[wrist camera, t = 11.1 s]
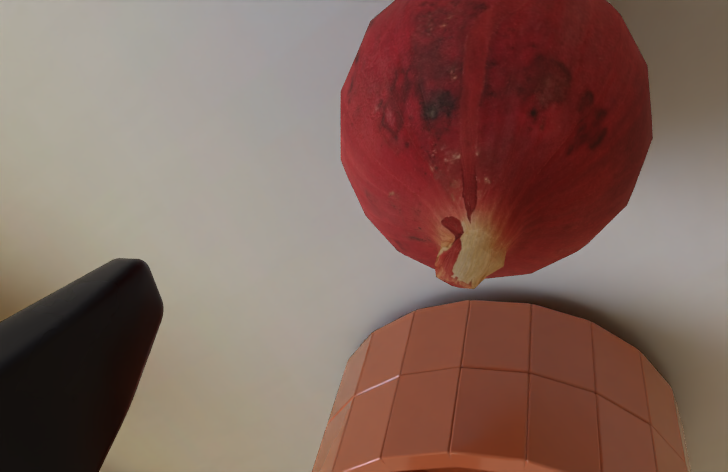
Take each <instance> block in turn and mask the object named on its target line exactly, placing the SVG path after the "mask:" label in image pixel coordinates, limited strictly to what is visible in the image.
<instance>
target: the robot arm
mask: <svg viewBox="0 0 728 472" xmlns="http://www.w3.org/2000/svg"><path fill="white" fill-rule="evenodd" d="M162 317H163V302H162V299H161V296H160V294H159V291H158V289H157V286H156V284H155V281H154V278H153V276H152V273H151V271H150V268H149V266H148V265H147V264H146V263H145V262H144V261H143V260H140V259H127V258H118V259H114V260H112V261H110V262H108V263H106V264H104V265H103V266H101V267H99V268H97V269H95V270H94V271H92V272H90V273H88V274H86V275H85V276H83V277H81V278H79V279H77V280H75V281H74V282H72V283H70V284H68V285H66V286H65V287H63V288H61V289H59V290H57V291H56V292H54V293H52V294H50V295H48V296H47V297H45V298H43V299H41V300H39V301H37V302H36V303H34V304H32V305H30V306H28V307H27V308H25V309H23V310H21V311H19V312H18V313H16V314H14V315H12V316H10V317H9V318H7V319H5V320H3V321H1V322H0V472H99V470H100V468H101V466H102V464H103V462H104V460H105V458H106V456H107V454H108V452H109V450H110V448H111V446H112V444H113V442H114V439H115V437H116V435H117V433H118V431H119V429H120V427H121V425H122V423H123V421H124V419H125V416H126V414H127V412H128V410H129V407H130V405H131V402H132V400H133V397H134V395H135V392H136V389H137V387H138V384H139V381H140V378H141V376H142V373H143V370H144V367H145V365H146V362H147V359H148V356H149V354H150V351H151V348H152V345H153V343H154V340H155V337H156V334H157V332H158V329H159V326H160V323H161V321H162Z"/></svg>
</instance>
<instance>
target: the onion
mask: <svg viewBox="0 0 728 472" xmlns="http://www.w3.org/2000/svg"><path fill="white" fill-rule="evenodd" d="M652 139H653V136H652V115H651V103H650V91H649V79H648V67H647V64H646V62H645V60H644V58H643V56H642V55H641V53H640V51H639V49H638V47H637V45H636V43H635V41H634V39H633V37H632V35H631V34H630V32H629V30H628V28H627V26H626V24H625V22H624V20H623V18H622V16H621V15H620V14H619V12H618V11H617V10H616V9H615V8H614V7H613V6H612V5H611V4H610V3H608V2H607V1H606V0H395V1H394V2H393V3H392V4H390V5H389V6H388V7H387V8H386V9H384V10H383V11H382V12H381V13H380V14H379V15H377V16H376V17H375V18H374V19H373V20H371V21H370V24H369V26H368V29H367V31H366V34H365V36H364V38H363V41H362V43H361V46H360V48H359V50H358V53H357V55H356V57H355V60H354V62H353V64H352V67H351V69H350V71H349V74H348V76H347V78H346V81H345V83H344V85H343V88H342V90H341V161H342V164H343V166H344V169H345V171H346V174H347V176H348V178H349V181H350V183H351V185H352V187H353V189H354V191H355V193H356V196H357V198H358V200H359V202H360V204H361V206H362V209H363V211H364V213H365V215H366V216H367V218H368V219H369V220H370V221H371V222H372V223H373V224H374V225H375V226H376V227H377V229H378V230H379V231H380V232H381V233H382V234H383V235H384V236H385V237H386V239H387V240H388V241H389V242H390V243H391V244H392V245H393V246H394V247H395V248H396V250H397V251H399V252H401V253H402V254H404V255H406V256H408V257H410V258H412V259H414V260H416V261H419V262H421V263H423V264H425V265H427V266H429V267H431V268H433V269H435V271H436V277H437V278H439V279H440V280H442V281H444V282H446V283H448V284H450V285H452V286H455V287H459V288H469V289H475V288H476V287H477V286H478V285H479V284H480V283H481V281H482V280H483V279H485V278H495V277H504V276H514V275H523V274H530V273H533V272H535V271H537V270H539V269H541V268H543V267H545V266H548V265H550V264H552V263H554V262H556V261H558V260H560V259H562V258H564V257H566V256H569V255H571V254H573V253H575V252H577V251H578V250H580V249H581V248H582V247H584V246H585V245H587V244H588V243H589V242H590V241H591V240H592V239H593V238H594V237H595V236H596V235H597V234H598V233H599V232H600V231H601V230H602V229H603V228H604V227H605V226H606V225H607V224H608V223H609V222H610V221H611V220H612V219H613V218H614V217H615V216H616V215H617V214H618V213H619V212H620V211H621V210H622V209H623V208H625V207H626V206H627V204H628V201H629V199H630V197H631V194H632V192H633V190H634V187H635V185H636V182H637V179H638V176H639V174H640V171H641V168H642V166H643V163H644V160H645V158H646V155H647V152H648V149H649V147H650V144H651V141H652Z"/></svg>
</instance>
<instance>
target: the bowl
mask: <svg viewBox="0 0 728 472" xmlns="http://www.w3.org/2000/svg"><path fill="white" fill-rule="evenodd" d="M312 472H691V467H690V462H689V457H688V451H687V446H686V441H685V436H684V430H683V425H682V421H681V418H680V414H679V411H678V407H677V404H676V400H675V397H674V393H673V390H672V389H671V386H670V385H669V384H668V383H667V382H666V380H665V379H664V378H663V377H662V376H661V375H660V373H659V372H658V371H657V370H656V369H655V368H654V366H653V365H652V364H651V363H650V362H649V361H648V359H647V358H646V357H645V356H644V355H643V354H642V352H640V351H639V350H638V349H637V348H635V347H634V346H632V345H630V344H629V343H627V342H625V341H624V340H622V339H620V338H619V337H617V336H615V335H614V334H612V333H610V332H609V331H607V330H605V329H604V328H602V327H600V326H599V325H597V324H595V323H594V322H590V321H589V320H586V319H583V318H579V317H576V316H573V315H569V314H566V313H562V312H559V311H556V310H552V309H549V308H546V307H542V306H539V305H535V304H532V305H531V304H530V303H516V302H499V301H482V300H471V301H470V300H465V301H460V302H454V303H449V304H443V305H438V306H433V307H427V308H422V309H417V310H416V311H413V312H411V313H409V314H407V315H405V316H403V317H401V318H399V319H397V320H395V321H393V322H391V323H389V324H387V325H385V326H383V327H381V328H379V329H377V330H376V331H375V332H373V333H372V334H371V335H370V336H369V337H368V338H367V339H366V340H365V341H364V343H363V344H362V345H361V346H360V347H359V348H358V349H357V351H356V352H355V353H354V354H353V355H352V356H351V357H350V358H349V360H348V362H347V365H346V368H345V371H344V374H343V377H342V380H341V383H340V386H339V390H338V393H337V396H336V399H335V402H334V405H333V408H332V411H331V414H330V417H329V421H328V424H327V427H326V430H325V433H324V436H323V439H322V442H321V445H320V448H319V451H318V454H317V458H316V461H315V464H314V467H313V470H312Z"/></svg>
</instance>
